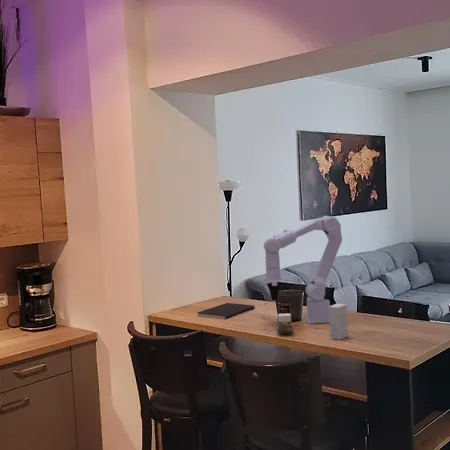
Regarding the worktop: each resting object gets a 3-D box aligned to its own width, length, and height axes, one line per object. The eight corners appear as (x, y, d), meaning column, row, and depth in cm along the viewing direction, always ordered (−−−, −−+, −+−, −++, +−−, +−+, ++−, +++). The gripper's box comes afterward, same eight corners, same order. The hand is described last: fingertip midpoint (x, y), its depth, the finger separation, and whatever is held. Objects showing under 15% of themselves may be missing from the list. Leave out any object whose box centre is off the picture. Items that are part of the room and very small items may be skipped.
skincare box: (337, 334, 218) (336, 303, 217) (348, 336, 215) (346, 304, 214) (329, 338, 213) (328, 306, 212) (340, 340, 210) (338, 307, 209)
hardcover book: (197, 317, 263) (197, 312, 263) (227, 307, 281) (227, 302, 281) (225, 320, 254) (225, 315, 253) (254, 310, 272) (254, 305, 272)
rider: (290, 321, 228) (289, 313, 227) (291, 324, 224) (290, 315, 223) (278, 322, 228) (278, 313, 228) (279, 324, 224) (278, 316, 224)
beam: (291, 326, 234) (290, 316, 234) (294, 335, 220) (293, 324, 220) (276, 327, 234) (275, 317, 234) (278, 336, 220) (277, 325, 220)
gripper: (262, 265, 246) (264, 297, 246) (263, 270, 231) (265, 304, 232) (279, 264, 245) (280, 296, 246) (281, 269, 231) (283, 303, 232)
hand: (274, 300), depth 239 cm, fingers closed
